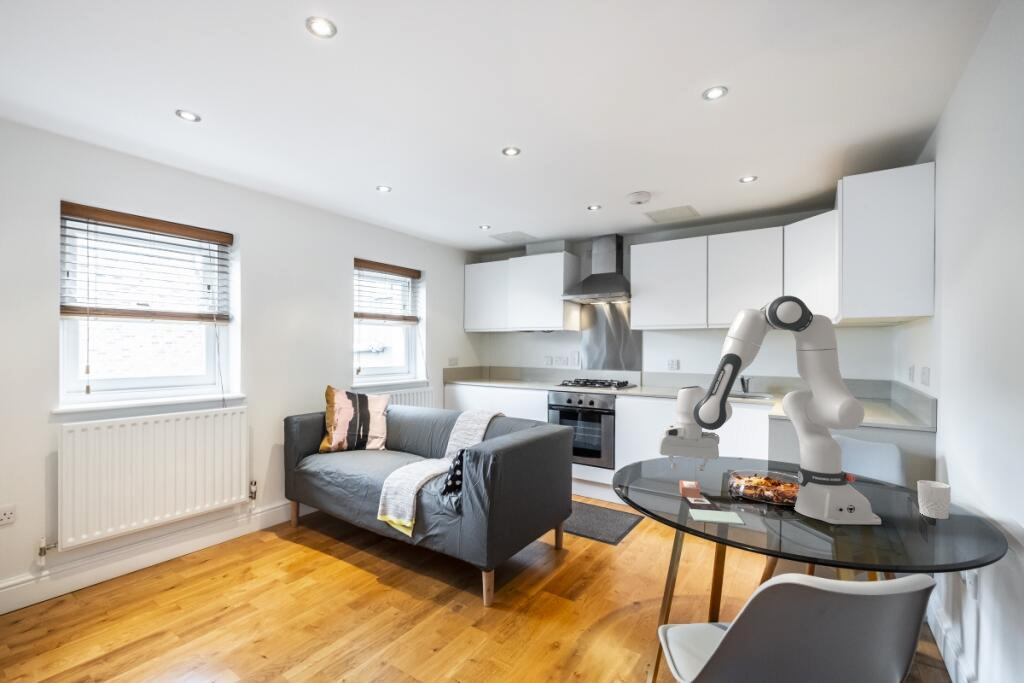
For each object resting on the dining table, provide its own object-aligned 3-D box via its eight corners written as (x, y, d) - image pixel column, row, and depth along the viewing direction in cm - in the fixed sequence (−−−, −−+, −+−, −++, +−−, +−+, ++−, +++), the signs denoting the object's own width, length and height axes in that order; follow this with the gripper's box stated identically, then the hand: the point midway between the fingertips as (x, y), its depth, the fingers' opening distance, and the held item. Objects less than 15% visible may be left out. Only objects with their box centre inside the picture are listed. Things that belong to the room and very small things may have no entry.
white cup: (944, 513, 147) (944, 482, 147) (955, 521, 139) (955, 489, 140) (913, 509, 150) (913, 479, 150) (922, 517, 143) (922, 485, 143)
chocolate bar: (695, 512, 144) (680, 494, 162) (695, 515, 144) (680, 496, 162) (725, 513, 143) (706, 495, 161) (725, 516, 143) (706, 497, 161)
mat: (735, 513, 145) (735, 512, 145) (744, 524, 136) (744, 523, 136) (689, 510, 148) (689, 508, 148) (694, 520, 139) (694, 519, 139)
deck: (679, 490, 168) (679, 479, 168) (696, 492, 167) (696, 481, 167) (681, 498, 160) (681, 487, 160) (699, 500, 158) (699, 488, 158)
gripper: (717, 431, 164) (716, 469, 164) (658, 427, 168) (657, 464, 168) (722, 434, 158) (720, 474, 158) (660, 430, 162) (659, 469, 162)
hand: (687, 469), depth 163 cm, fingers open, 8 cm apart
